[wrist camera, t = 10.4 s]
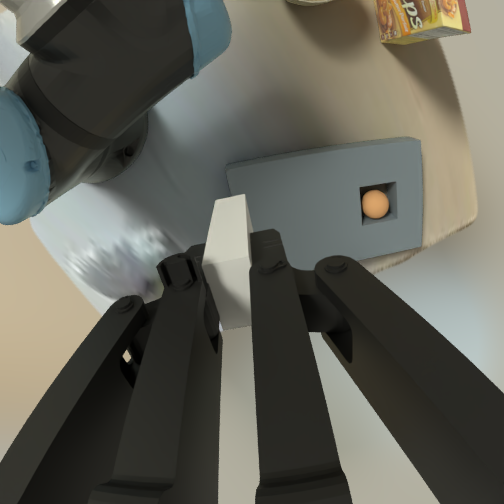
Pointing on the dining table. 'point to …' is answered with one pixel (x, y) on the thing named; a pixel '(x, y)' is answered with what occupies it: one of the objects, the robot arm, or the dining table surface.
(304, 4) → the tan round bowl
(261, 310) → the robot arm
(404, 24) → the candy box
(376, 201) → the ball
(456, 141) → the dining table surface
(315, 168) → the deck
